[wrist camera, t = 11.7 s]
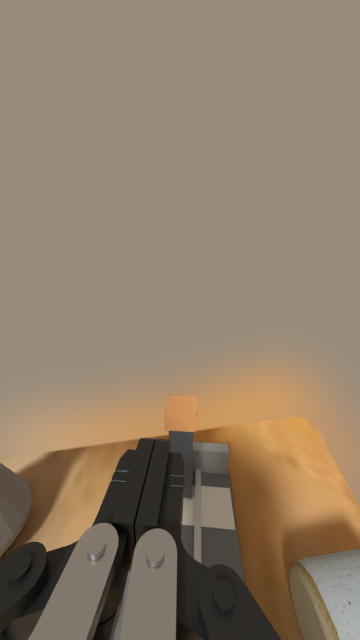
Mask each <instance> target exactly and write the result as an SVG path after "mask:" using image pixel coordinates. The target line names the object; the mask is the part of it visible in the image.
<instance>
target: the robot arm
mask: <svg viewBox="0 0 360 640" xmlns="http://www.w3.org/2000/svg"><path fill="white" fill-rule="evenodd" d="M184 467H185V463H184V461H183V458H182V455H181V453H171V440H166V439H150V438H140V440H139V443H138V446H137V449H136V450H130V449H128V450H127V451H126V452H125V453H124V455H123V456H122V457H121V458H120V460H119V462H118V465H117V467H116V470H115V472H114V475H113V477H112V481H111V482H110V485H109V487H108V490H107V492H106V495H105V497H104V500H103V502H102V504H101V507H100V509H99V512H98V514H97V517H96V519H95V521H94V523H93V525H92V527H90V528H89V529H88V530H87V531H85V533H84V534H83V535H82V536H81V537H80V539H79V540H78V541H77V542H75V543H73V544H71V545H68V546H65V547H62V548H58V549H55V550H52V551H48V552H46V548H45V547H44V545H43V544H41V543H39V542H30V543H27V544H24V545H22V546H20V547H19V548H17V549H16V550H14V551H13V552H12V553H10V554H9V555H8V556H7V557H5V558H4V559H3V560H1V561H0V640H113V638H114V634H115V630H116V627H117V623H118V619H119V616H120V612H121V608H122V604H123V598H124V589H125V585H126V581H127V576H128V572H129V571H131V573H130V579H129V585H128V591H127V597H126V603H125V609H124V615H123V621H122V627H121V633H120V639H119V640H281V639H280V637H279V636H278V634H277V633H276V631H275V630H274V628H273V627H272V625H271V624H270V622H269V621H268V619H267V618H266V616H265V615H264V613H263V611H262V610H261V608H260V607H259V605H258V604H257V602H256V601H255V599H254V598H253V596H252V595H251V593H250V592H249V590H248V589H247V587H246V586H245V584H244V582H243V581H242V579H241V578H240V577H239V575H238V574H237V573H236V572H235V571H234V570H233V569H231V568H230V567H228V566H226V565H223V564H217V565H213V566H211V567H210V568H208V567H206V566H205V565H203V564H201V563H200V562H198V561H196V560H195V559H193V558H192V557H191V556H190V555H189V554H188V553H187V551H186V550H185V548H184V546H183V544H182V541H181V531H182V516H183V500H184Z"/></svg>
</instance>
